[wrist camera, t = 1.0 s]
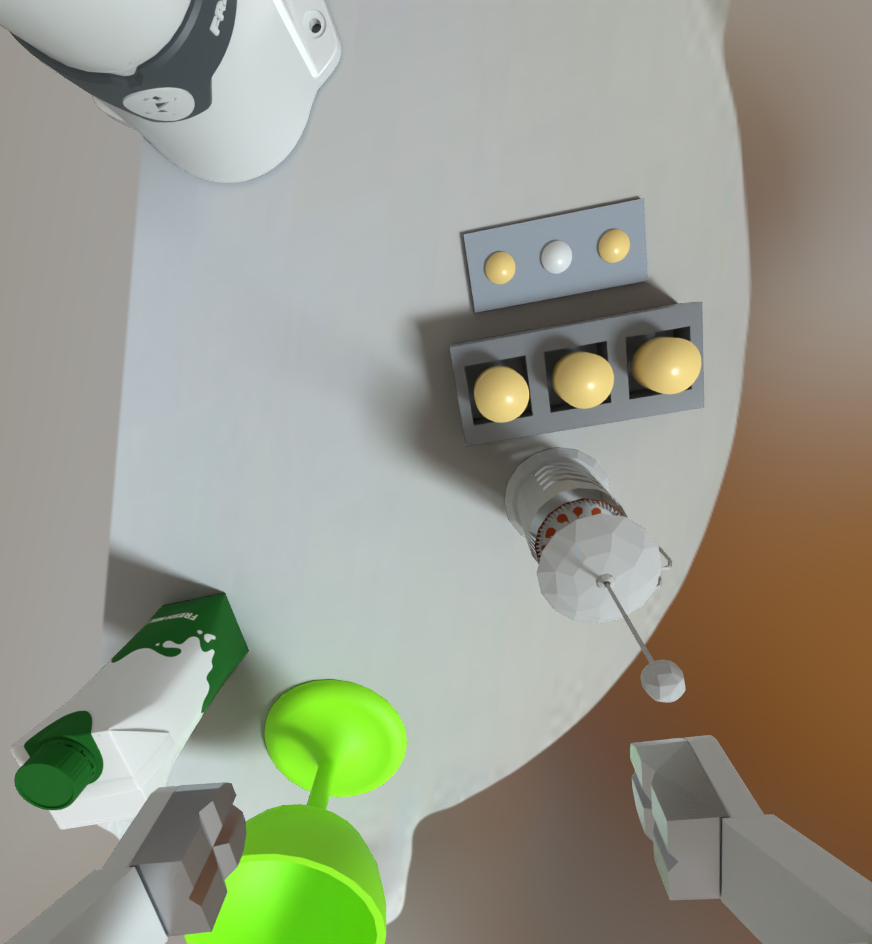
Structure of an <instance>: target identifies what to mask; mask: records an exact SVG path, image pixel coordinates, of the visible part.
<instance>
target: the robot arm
mask: <svg viewBox="0 0 872 944" xmlns="http://www.w3.org/2000/svg"><path fill="white" fill-rule="evenodd" d="M315 24H320V25H321V29H320V31H319V32H318V33H313V32H312V27H313V26H314V25H315ZM0 25H1V26H2V27H4V28H5V29H7V30H8V31H9V32H10V33H11V34H12V35H13V36H14V37H15V39H16V40H17V41H19V43H20V44H21V45H22V46H24V47H25V48H26V49H27V50H28V51H29V52H30V53H31V54H33V55H34V56H35V57H36V58H38V59H39V60H40V61H41V62H42V63H43V64H45V65H46V66H48V67H49V68H50V69H52V70H53V71H54V72H56V73H59V74H61V75H62V76H64V77H65V78H67V79H68V80H70V81H71V82H73V83H74V84H76V85H77V86H79V87H81V88H82V89H84V90H85V91H87V92H88V93H90V94H91V95H92V97H93V100H94V102H95V104H96V105H97V106H98V107H99V108H100V109H101V110H102V111H103V112H105V113H106V114H107V115H109V116H110V117H111V118H113V119H114V120H116V121H118V122H120V123H122V124H124V125H126V126H128V127H130V128H133V129H135V130H137V131H138V132H139V133H141V134H142V135H143V136H144V137H145V138H146V139H147V140H148V141H149V142H150V143H151V144H152V145H153V146H154V147H155V148H156V149H157V150H158V151H159V152H160V153H161V154H162V155H164V156H165V157H166V158H167V159H168V160H169V161H170V162H172V163H173V164H175V165H176V166H177V167H179V168H181V169H182V170H184V171H186V172H187V173H189V174H191V175H194V176H196V177H199V178H202V179H205V180H209V181H214V182H221V183H234V182H242V181H247V180H250V179H253V178H256V177H259V176H261V175H263V174H265V173H266V172H268V171H270V170H271V169H273V168H274V167H276V166H277V165H278V164H279V163H280V162H281V161H282V160H283V159H285V157H286V156H287V155H288V154H289V153H290V152H291V150H292V149H293V148H294V146H295V145H296V143H297V142H298V140H299V138H300V136H301V134H302V132H303V130H304V128H305V126H306V123H307V120H308V117H309V114H310V110H311V107H312V104H313V101H314V98H315V95H316V93H317V91H318V89H319V88H320V87H321V85H322V84H323V83H324V82H325V81H326V79H327V78H328V77H329V76H330V74H331V73H332V72H333V70H334V69H335V67H336V66H337V64H338V62H339V60H340V57H341V43H340V40H339V37H338V34H337V32H336V29H335V26H334V23H333V21H332V18H331V15H330V12H329V10H328V7H327V4H326V2H325V0H0ZM630 758H631V761H632V764H633V766H634V769H635V771H636V772H635V773H634V775H633V776H632V786H633V794H634V799H635V804H636V808H637V811H638V815H639V818H640V821H641V824H642V827H643V830H644V832H645V834H646V835H647V836H648V837H649V838H650V839H651V840H652V841H653V842H654V858H655V862H656V865H657V867H658V870H659V873H660V875H661V878H662V880H663V883H664V885H665V888H666V891H667V893H668V896H669V899H670V900H686V899H713V898H722V902H723V903H724V904H725V905H726V906H727V907H728V908H729V909H730V910H731V911H732V912H733V914H734V915H736V917H737V918H738V919H739V920H740V921H741V922H742V923H743V924H744V925H745V926H746V927H747V928H748V929H749V930H750V931H751V932H752V933H753V934H754V935H755V936H756V937H757V938H758V939H759V940H760V941H761V942H762V943H763V944H872V882H870V881H869V880H867V879H866V878H864V877H863V876H861V875H860V874H859V873H857V872H856V871H854V870H853V869H851V868H850V867H848V866H847V865H845V864H844V863H842V862H841V861H840V860H838V859H837V858H835V857H834V856H832V855H831V854H829V853H828V852H826V851H825V850H824V849H822V848H821V847H819V846H818V845H816V844H815V843H814V842H812V841H811V840H809V839H808V838H806V837H805V836H803V835H802V834H801V833H799V832H798V831H796V830H795V829H793V828H792V827H790V826H789V825H787V824H786V823H785V822H783V821H782V820H780V819H779V818H777V817H776V816H774V815H764V814H763V812H762V811H761V809H760V808H759V806H758V805H757V803H756V801H755V800H754V798H753V797H752V795H751V793H750V792H749V790H748V789H747V787H746V786H745V784H744V782H743V781H742V779H741V778H740V776H739V774H738V773H737V771H736V770H735V768H734V767H733V765H732V764H731V762H730V760H729V759H728V757H727V756H726V754H725V752H724V751H723V749H722V748H721V746H720V745H719V743H718V741H717V740H716V739H715V738H714V737H712V736H711V735H707V736H697V737H687V738H684V739H683V738H676V739H667V740H657V741H648V742H638V743H631V746H630ZM235 797H236V793H235V791H234V788H233V786H232V784H231V783H210V784H195V785H181V786H170V787H159V788H157V789H156V790H155V791H153V792H152V793H151V794H150V795H149V797H148V798H147V800H146V801H145V803H144V805H143V806H142V808H141V809H140V811H139V812H138V814H137V815H136V817H135V818H134V820H133V821H132V823H131V825H130V826H129V828H128V829H127V831H126V832H125V834H124V835H123V837H122V838H121V840H120V841H119V843H118V844H117V846H116V848H115V849H114V851H113V852H112V854H111V855H110V857H109V858H108V860H107V861H106V863H105V865H104V866H103V868H102V869H98V870H93V871H92V872H91V873H90V874H89V875H87V876H86V877H85V878H84V879H83V880H81V881H80V882H79V883H78V884H76V885H75V886H74V887H73V888H72V889H70V890H69V891H68V892H67V893H65V894H64V895H63V896H62V897H61V898H59V899H58V900H57V901H56V902H54V903H53V904H52V905H51V906H50V907H48V908H47V909H46V910H45V911H44V912H42V913H41V914H40V915H39V916H37V917H36V918H35V919H34V920H33V921H31V922H30V923H29V924H28V925H27V926H25V927H24V928H23V929H22V930H20V931H19V932H18V933H17V934H16V935H14V936H13V937H12V938H11V939H9V940H8V941H7V942H6V943H5V944H165V943H166V941H167V940H168V936H177V935H187V934H196V933H206V932H212V930H213V927H214V925H215V922H216V920H217V917H218V915H219V912H220V910H221V907H222V905H223V902H224V900H225V897H226V895H227V892H228V891H227V886H226V881H225V880H226V879H227V877H228V876H229V875H230V874H231V873H232V872H233V871H234V870H235V869H236V868H237V867H238V865H239V862H240V860H241V857H242V854H243V852H244V846H245V840H246V834H247V833H246V821H245V818H244V815H243V812H242V811H241V810H239V809H238V808H237V807H235V806H234V805H233V802H234V800H235Z"/></svg>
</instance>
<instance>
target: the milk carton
mask: <svg viewBox="0 0 872 944" xmlns="http://www.w3.org/2000/svg"><path fill="white" fill-rule="evenodd" d="M248 651H249V650H248V648H247V645H246V643H245V640H244V638H243V635H242V633H241V631H240V628H239V626H238V623H237V621H236V618H235V616H234V614H233V611H232V609H231V606H230V604H229V601H228V599H227V597H226V594H225V593H222V594H217V595H212V596H208V597H203V598H198V599H193V600H188V601H183V602H178V603H173V604H168V605H163V606H162V607H161V608H160V609H159V610H158V611H157V612H156V614H155V615H154V616H153V617H152V618H151V619H150V620H149V621H148V623H147V624H146V625H145V626H144V627H143V628H142V629H141V630H140V631H139V632H138V633H137V634H136V635H135V636H134V637H133V638H132V639H131V640H130V641H129V642H128V643H127V644H126V645H125V646H124V647H123V648H122V649H121V650H120V651H119V652H118V653H117V654H116V655H115V656H114V657H113V658H112V659H111V660H110V661H109V662H108V663H107V664H106V665H105V666H104V667H103V668H102V669H101V670H100V671H99V672H98V673H97V674H96V675H95V676H94V677H93V678H92V679H91V680H90V681H89V682H88V683H87V684H86V685H85V686H84V687H83V688H82V689H81V690H80V691H79V692H78V693H77V694H76V695H75V696H74V697H72V698H71V699H70V700H69V701H68V702H66V703H65V704H64V705H62V706H61V707H60V708H59V709H57V710H56V711H55V712H54V713H52V714H51V715H50V716H48V717H47V718H46V719H45V720H43V721H42V722H41V723H39V724H38V725H37V726H36V727H34V728H33V729H32V730H30V731H29V732H28V733H27V734H25V735H24V736H23V737H21V738H20V739H19V740H18V741H17V742H15V743H14V744H13V745H11V747H10V750H11V752H12V754H13V755H14V757H15V759H16V760H17V762H18V764H19V766H20V769H19V770H18V771H17V773H16V775H15V786H16V789H17V791H18V792H19V794H20V795H21V796H22V797H23V798H24V799H25V800H26V801H27V802H29V803H30V804H32V805H34V806H36V807H38V808H41V809H46V810H49V811H50V813H51V815H52V816H53V818H54V820H55V821H56V823H57V824H58V826H59V828H60V829H68V828H75V827H81V826H86V825H94V824H100V823H106V822H113V821H119V820H125V819H132V818H135V817H136V815H137V814H138V812H139V811H140V809H141V808H142V806H143V805H144V803H145V801H146V800H147V798H148V797H149V795H150V794H151V793H152V792H153V791H155V790H156V789H157V788H159V787H165V785H166V783H167V780H168V777H169V775H170V772H171V769H172V767H173V764H174V762H175V760H176V758H177V756H178V754H179V753H180V751H181V750H182V748H183V746H184V745H185V743H186V742H187V740H188V739H189V737H190V735H191V734H192V732H193V731H194V729H195V727H196V726H197V724H198V723H199V721H200V719H201V718H202V716H203V715H204V713H205V712H206V710H207V708H208V707H209V705H210V704H211V702H212V700H213V699H214V697H215V696H216V694H217V693H218V691H219V689H220V688H221V687H222V685H223V684H224V683H225V681H226V680H227V679H228V677H229V676H230V675H231V674H232V672H233V671H234V670H235V668H236V667H237V666H238V664H239V663H240V662H241V660H242V659H243V658H244V656H245V655H246V654H247V652H248Z"/></svg>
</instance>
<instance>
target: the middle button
mask: <svg viewBox="0 0 872 944" xmlns="http://www.w3.org/2000/svg"><path fill="white" fill-rule="evenodd" d="M551 384H552V387H553V389H554V391H555V393H556V394H557V395H558V396H559V397H560V398H561V399H563V400H564V401H566V402H567V403H568V404H570V405H571V406H574V407H576V408H581V409H587V408H592V407H595V406H597V405H599V404H601V403H602V402H603V401H604V400H605V399H606V398H607V397H608V396H609V394H610V392H611V390H612V388H613V384H614V374H613V370H612V368H611V366H610V364H609V363H608V362H607V361H606V360H605V359H604V358H602V357H601V356H599V355H595V354H592V353H588V352H583V351H574V352H570V353H567V354H566V355H564V356H562V357H561V358H560V359H559V360H558V361H557V362H556V364H555V366H554V368H553V370H552V374H551Z"/></svg>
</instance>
